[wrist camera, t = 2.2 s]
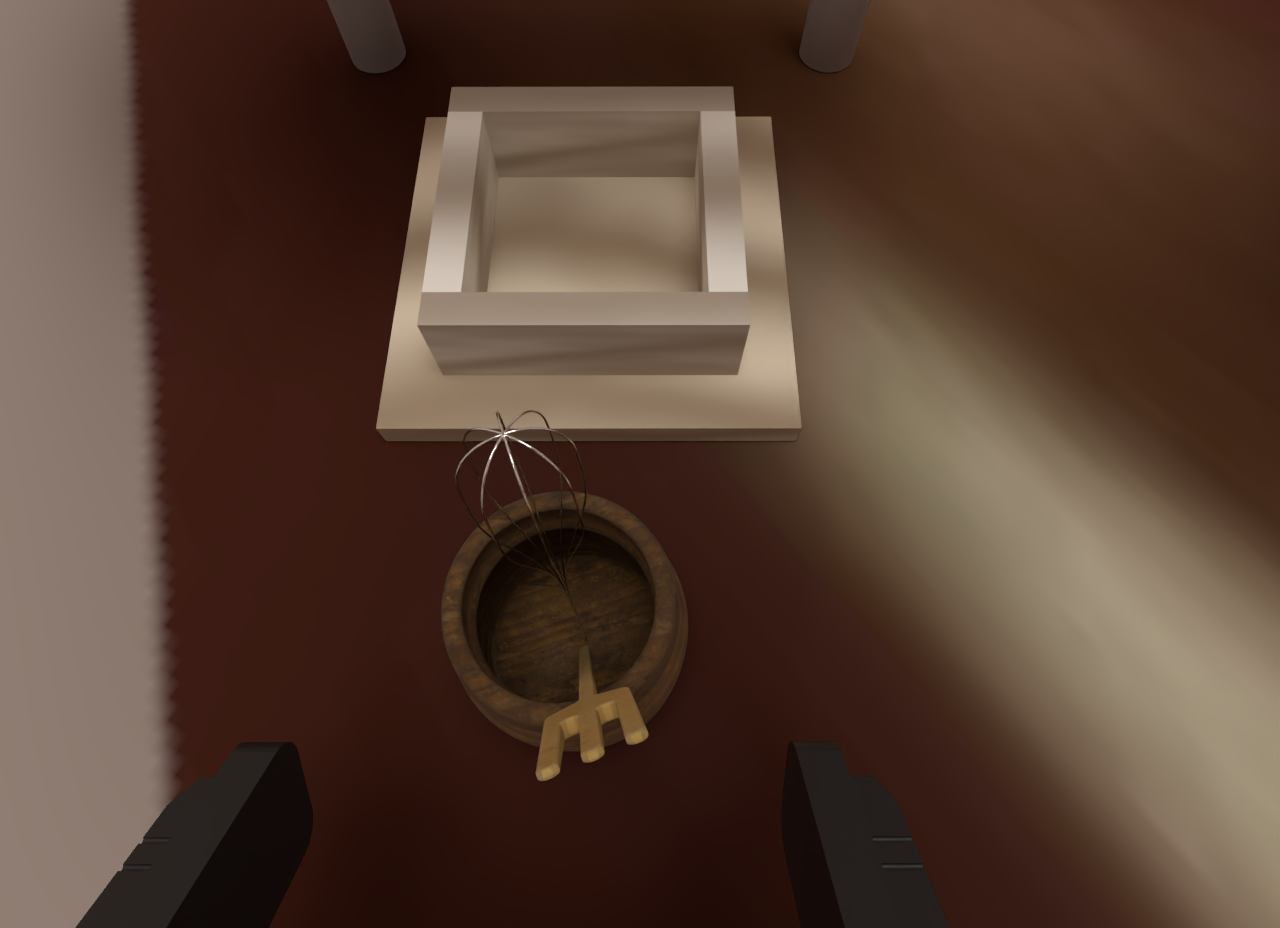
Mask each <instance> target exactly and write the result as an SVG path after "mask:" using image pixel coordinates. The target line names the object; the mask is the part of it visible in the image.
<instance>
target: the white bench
mask: <svg viewBox="0 0 1280 928" xmlns="http://www.w3.org/2000/svg"><path fill="white" fill-rule="evenodd" d="M870 1H871V0H810V5H809V9H808V13H807V18H806V22H805V27H804V31H803V36H802V40H801V45H800V49H799V55H800V58H801V60H802V61H803V62H804V63H805V64H806V65H807V66H808V67H810V68H811V69H814V70H816V71H820V72H826V73H831V72H838V71H841V70H843V69H845V68H846V67H848V66H849V65H850V64H851V62H852V60H853V56H854V53H855V50H856V47H857V43H858V40H859V37H860V33H861V30H862V27H863V24H864V20H865V17H866V14H867V10H868V7H869V4H870ZM327 2H328V4H329V7H330V9H331V12H332V14H333V16H334V19H335V21H336V24H337V26H338V28H339V31H340V33H341V35H342V38H343V40H344V43H345V45H346V47H347V50H348V52H349V55H350V57H351V59H352V62H353V64H354V65H355V66H356V67H357V68H358V69H359V70H361V71H364V72H367V73H383V72H387V71H390V70H392V69H394V68H396V67H397V66H398V65H399V64H401V62H402V61H403V60H404V58H405V55H406V49H405V46H404V43H403V40H402V37H401V34H400V31H399V28H398V25H397V22H396V19H395V16H394V13H393V10H392V7H391V4H390V1H389V0H327Z"/></svg>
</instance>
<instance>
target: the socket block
mask: <svg viewBox="0 0 1280 928" xmlns="http://www.w3.org/2000/svg"><path fill="white" fill-rule="evenodd" d="M496 410H498V411H499V413H500V415H501V418H502V420H503V422H504V425H505V427H506V428H507V426H508V425H509V424H510V423H511V422H512V420H513V419H514V418H516V417H517V416H518V415H519V414H521V413H522V412H524V411H527V410H536V411H539V412H541V413H542V414H543V415H544V416H545V418H546V420H547V422H548V424H549V427H550V429H552V430H556V431H558V432H560V433H562V434H564V435H565V436H567V437H568V438H569V439H570V440H571V441H796V439H797V437H798V435H799V433H800V431H801V429H802V426H801V416H800V406H799V396H798V386H797V376H796V366H795V356H794V346H793V335H792V325H791V315H790V305H789V295H788V285H787V275H786V265H785V254H784V244H783V234H782V224H781V214H780V204H779V194H778V184H777V173H776V163H775V153H774V143H773V133H772V123H771V117H735V105H734V91H733V87H452V88H451V95H450V102H449V109H448V116H447V117H426V122H425V128H424V134H423V141H422V147H421V153H420V159H419V165H418V172H417V178H416V184H415V190H414V196H413V202H412V209H411V215H410V221H409V227H408V233H407V240H406V246H405V252H404V258H403V264H402V271H401V277H400V283H399V289H398V295H397V302H396V308H395V314H394V320H393V326H392V333H391V339H390V345H389V351H388V357H387V364H386V370H385V376H384V382H383V388H382V395H381V401H380V407H379V413H378V419H377V425H376V429H377V430H378V432H379V433H380V434H381V435H382V437H383V438H384V439H385V440H386V441H463V437H464V435H465V433H466V432H467V431H468V430H470V429H472V428H488V429H492V430H496V431H499V432H501V430H500V427H499V423H498V420H497V416H496ZM502 427H503V426H502ZM528 427H542V428H547V425H546V423H545V421H544V419H543V418H542V417H541V415H539V414H538V413H535V412H529V413H526V414H524V415H522V416H521V417H519V418H518V419H517V420H516V421H515V422H514V423H513V424H512V426H511V427H510V428H509V429H508V431H512V430H516V429H521V428H528ZM503 430H504V429H503ZM508 431H507V432H508ZM496 435H499V434H497V433H493V432H489V431H484V430H475V431H471V432H470V433H468V434H467V436H466V440H465V441H485V440H487V439H489V438H491V437H494V436H496ZM503 435H504V434H503ZM508 435H510V436H512V437H515V438H517V439H519V440H521V441H552V439H551V436H550V434H549V431H545V430H525V431H519V432H514V433H511V434H508ZM552 435H553V438H554V441H568V440H567V439H565V438H564V437H562V436H561V435H559V434H556V433H554V432H552ZM499 438H500V437H499ZM499 438H496V439H493V440H491V441H498V440H499ZM506 440H507V441H508V438H507V437H506ZM510 440H511V441H515V440H513V439H510ZM501 441H504V439H503V438H502V440H501Z"/></svg>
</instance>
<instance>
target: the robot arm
mask: <svg viewBox="0 0 1280 928" xmlns="http://www.w3.org/2000/svg"><path fill="white" fill-rule="evenodd" d="M781 820H782V836H783V844H784V850H785V855H786V860H787V864H788V869H789V874H790V878H791V883H792V888H793V892H794V897H795V901H796V906H797V911H798V915H799V920H800V925H801V928H949V925H948V923H947V921H946V918H945V916H944V913H943V911H942V908H941V906H940V904H939V901H938V899H937V896H936V894H935V892H934V889H933V887H932V884H931V882H930V879H929V877H928V875H927V872H926V870H924V869H923V863H922V860H921V858H920V855H919V853H918V850H917V848H916V846H915V843H913V842H912V838H911V837H912V836H911V834H910V831H909V829H908V826H907V824H906V821H905V819H904V817H903V814H902V812H901V809H900V807H899V805H898V803H897V802H896V801H895V800H894V799H893V797H892V796H891V795H890V794H889V793H888V792H887V791H886V790H885V789H884V787H883V786H882V785H881V784H880V783H879V782H878V781H877V780H876V778H875V777H874V776H850V773H849V771H848V768H847V765H846V762H845V759H844V756H843V754H842V751H841V748H840V746H839V744H838V743H837V742H836V741H791V742H790V743H789V745H788V751H787V760H786V770H785V780H784V790H783V800H782V813H781ZM312 826H313V810H312V805H311V801H310V797H309V793H308V790H307V786H306V782H305V778H304V774H303V770H302V766H301V762H300V758H299V754H298V750H297V748H296V746H295V745H294V744H293V743H292V742H244V743H241V744H239V745H238V746H237V747H236V748H235V749H234V750H233V751H232V752H231V754H230V755H229V757H228V758H227V760H226V761H225V762H224V764H223V765H222V767H221V768H220V769H219V771H218V772H217V774H216V775H215V777H210V778H200V779H199V780H198V781H196V782H195V783H194V784H193V785H192V786H190V787H189V788H188V789H187V790H185V791H184V792H183V793H182V794H180V795H179V796H178V797H177V798H176V799H174V800H173V801H172V802H171V803H169V804H168V805H167V806H166V808H165V809H164V810H163V812H162V813H161V814H160V816H159V817H158V818H157V820H156V821H155V822H154V824H153V825H152V826H151V828H150V829H149V830H148V832H147V833H146V834H145V836H144V837H143V838H144V839H143V842H142V844H138V845H137V846H136V848H135V849H134V850H133V852H132V853H131V854H130V856H129V857H128V858H127V860H126V861H125V862H124V864H123V869H122V870H121V871H118V872H117V873H116V874H115V876H114V877H113V878H112V880H111V881H110V882H109V884H108V885H107V886H106V888H105V889H104V891H103V892H102V893H101V895H100V896H99V897H98V898H97V900H96V901H95V903H94V904H93V905H92V906H91V908H90V909H89V910H88V912H87V913H86V915H85V916H84V917H83V918H82V920H81V921H80V923H79V924H78V925H77V926H76V928H269V926H270V924H271V922H272V919H273V917H274V915H275V913H276V911H277V909H278V907H279V905H280V903H281V901H282V899H283V897H284V895H285V893H286V891H287V889H288V887H289V885H290V883H291V881H292V879H293V877H294V875H295V873H296V871H297V869H298V867H299V865H300V863H301V861H302V859H303V857H304V855H305V852H306V850H307V847H308V844H309V841H310V837H311V833H312Z"/></svg>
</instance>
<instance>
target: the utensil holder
mask: <svg viewBox="0 0 1280 928" xmlns="http://www.w3.org/2000/svg"><path fill="white" fill-rule="evenodd" d="M529 412H535V413H538V414H539V415H541V417H542V418H543V419H544V421H545V423H546V425H547V428H542V427H528V428H521V429H516V430H512V431H508V429H509V428H510V427H511V426H512V424H513V423H514V422H515V421H516V420H517V419H518V418H519V417H521V416H522V415H524V414H526V413H529ZM496 416H497V420H498V423H499V427H500V430H501V432H499V431H496V430H492V429H488V428H472V429H470V430H468V431H467V432H466V433H465V435H464V437H463V445H464V448H465V451H466V455H465V456H464V458H463V459H462V460H461V462H460V464H459V466H458V468H457V471H456V474H455V485H456V488H457V491H458V493H459V495H460V498H461V500H462V502H463V504H464V506H465V508H466V510H467V512H468V514H469V515H470V517H471V518H472V520H473V521H474V523H475V524H476V525H477V528H476V529H475V530H474V532H473V533H472V534H471V535H470V536H469V537H468V539H467V540H466V541H465V543H464V544H463V545H462V547H461V548H460V550H459V552H458V553H457V555H456V557H455V559H454V561H453V563H452V565H451V568H450V570H449V573H448V576H447V579H446V582H445V586H444V590H443V596H442V605H441V624H442V632H443V638H444V642H445V646H446V649H447V652H448V655H449V658H450V661H451V663H452V665H453V667H454V670H455V671H456V673H457V675H458V677H459V679H460V680H461V682H462V684H463V686H464V688H465V690H466V692H467V694H468V695H469V697H470V698H471V700H472V701H473V703H474V704H475V705H476V706H477V708H478V709H479V710H480V711H481V712H482V713H483V714H484V715H485V717H486V718H487V719H489V720H490V721H491V722H492V723H493V724H494V725H495V726H497V727H498V728H500V729H501V730H502V731H504V732H505V733H507V734H509V735H511V736H512V737H514V738H516V739H518V740H520V741H523V742H525V743H528V744H530V745H533V746H537V747H540V750H539V756H538V763H537V769H536V776H537V779H538V780H539V781H546V780H549V779H551V778H553V777H555V776H556V775H558V774H559V772H560V767H561V760H562V754H563V751H581V758H582V761H583V762H585V763H589V762H593V761H595V760H598V759H599V758H601V757H602V756H603V755H604V753H605V751H604V747H607V746H609V745H612V744H615V743H617V742H619V741H622V740H624V739H626V742H627V744H629V745H633V744H637V743H640V742H642V741H644V740H645V739H646V738H647V737H648V731H647V729H646V726H645V725H646V724H647V723H648V722H649V721H650V720H651V719H652V718H653V717H654V716H655V715H656V713H657V712H658V711H659V710H660V708H661V707H662V706H663V704H664V703H665V701H666V700H667V698H668V697H669V695H670V693H671V691H672V689H673V687H674V685H675V683H676V681H677V679H678V676H679V674H680V671H681V668H682V665H683V661H684V657H685V653H686V648H687V640H688V612H687V606H686V600H685V596H684V592H683V589H682V586H681V583H680V580H679V578H678V576H677V574H676V572H675V570H674V568H673V566H672V564H671V563H670V561H669V559H668V557H667V555H666V553H665V552H664V550H663V548H662V547H661V545H660V543H659V542H658V541H657V539H656V538H655V536H654V535H653V534H652V533H651V532H650V530H649V529H648V528H647V527H646V526H645V525H644V524H643V523H642V522H641V521H640V520H639V519H638V518H637V517H635V516H634V515H633V514H632V513H630V512H629V511H627V510H626V509H624V508H623V507H621V506H619V505H617V504H615V503H613V502H611V501H609V500H607V499H604V498H601V497H598V496H595V495H591V494H587V482H586V477H585V473H584V469H583V466H582V463H581V460H580V457H579V454H578V451H577V449H576V447H575V445H574V443H573V442H572V441H571V440H570V439H569V438H568V437H567V436H565V435H564V434H562V433H560V432H558V431H556V430H552V429H550V427H549V424H548V422H547V420H546V418H545V416H544V415H543V414H542V413H541V412H539V411H536V410H527V411H524V412H522V413H521V414H519V415H518V416H517V417H516V418H514V419H513V420H512V422H511V423H510V424H509V425H508V426H507V428H506V427H505V425H504V422H503V420H502V418H501V415H500V413H499V411H498V410H496ZM502 426H503V427H502ZM503 429H504V430H503ZM475 430H484V431H489V432H493V433H497V434H499V435H496V436H494V437H491V438H489V439H487V440H485V441H483V442H482V443H480V444H478V445H477V446H475V447H474V448H473V449H471V450H470V451H469V452H468V449H467V447H466V442H465V440H466V436H467V434H468V433H470V432H471V431H475ZM525 430H545V431H549V434H550V436H551V439H552V442H553V445H554V448H555V452H556V455H557V460H558V464H559V468H558V467H557V466H556V465H555V464H554V463H553V462H552V461H550V460H549V459H548V458H547V457H546V456H545V455H543V454H542V453H541V452H539V451H538V450H536V449H535V448H533V447H532V446H530V445H528V444H527V443H525V442H523V441H521V440H519V439H517V438H515V437H512V436H510V435H508V434H511V433H514V432H519V431H525ZM507 431H508V432H507ZM552 432H554V433H556V434H559V435H561V436H562V437H564V438H565V439H567V440H568V441H569V442H570V443H571V445H572V446H573V448H574V451H575V453H576V456H577V458H578V461H579V464H580V467H581V471H582V474H583V478H584V484H585V493H581V492H573V489H572V487H571V485H570V483H569V481H568V480H567V478H566V477H565V475H564V474H563V473H562V470H561V463H560V459H559V454H558V451H557V447H556V444H555V441H554V438H553V435H552ZM503 434H504V435H503ZM499 437H500V438H499ZM506 437H507V438H508V441H509V443H510V446H511V448H512V451H513V453H514V456H515V458H516V461H517V463H518V466H519V469H520V471H521V474H522V476H523V479H524V482H525V484H526V487H527V490H528V492H529V495H530V496H529V497H526V494H525V491H524V489H523V486H522V483H521V480H520V478H519V475H518V472H517V469H516V466H515V463H514V461H513V458H512V455H511V452H510V449H509V446H508V443H507V440H506ZM496 438H499V440H498V441H497V443H496V445H495V447H494V448H493V450H492V453H491V455H490V457H489V460H488V462H487V465H486V469H485V472H484V476H483V481H482V480H481V478H480V476H479V474H478V472H477V470H476V468H475V466H474V463H473V461H472V459H471V457H470V454H471V453H472V452H473V451H474V450H476V449H477V448H478V447H480V446H482V445H483V444H485V443H487V442H489V441H491V440H493V439H496ZM502 438H503V439H504V442H505V445H506V448H507V451H508V454H509V457H510V460H511V463H512V466H513V469H514V472H515V474H516V477H517V480H518V483H519V486H520V488H521V491H522V494H523V496H524V498H523V499H520V500H517V501H515V502H513V503H511V504H509V505H507V506H505V507H503V508H501V507H500V505H499V504H498V503H497V502H496V501H495V499H494V498H493V497H492V495H491V494H490V493H489V491H488V490H487V488H486V487H485V480H486V475H487V471H488V468H489V465H490V462H491V459H492V457H493V455H494V452H495V450H496V449H497V447H498V445H499V443H500V441H501V440H502ZM510 439H513V440H515V441H517V442H519V443H521V444H523V445H525V446H527V447H528V448H530V449H532V450H533V451H535V452H536V453H538V454H539V455H540V456H542V457H543V458H544V459H545V460H547V461H548V462H549V463H550V464H551V465H552V466H553V467H554V468H555V469H556V470H557V471H558V472H559V473H560V491H555V492H546V493H540V494H536V495H532V494H531V492H530V489H529V486H528V484H527V481H526V478H525V476H524V473H523V470H522V468H521V465H520V463H519V460H518V458H517V455H516V452H515V450H514V447H513V445H512V442H511V440H510ZM467 457H468V458H469V460H470V462H471V465H472V467H473V469H474V471H475V473H476V475H477V477H478V479H479V481H480V483H481V484H482V488H481V508H482V513H483V517H484V519H485V521H484V522H483V523H482V524H480V525H479V524H478V523H477V522H476V520H475V519H474V517H473V516H472V514H471V512H470V510H469V508H468V506H467V504H466V502H465V500H464V498H463V496H462V494H461V492H460V489H459V486H458V481H457V480H458V473H459V470H460V467H461V465H462V464H463V462H464V461H465V459H466V458H467ZM562 477H563V478H564V480H565V481H566V483H567V484H568V487H569V489H570V491H562ZM484 489H485V491H486V492H487V494H488V495H489V496H490V498H491V499H492V500H493V502H494V503H495V504H496V505H497V506H498V508H499V509H500V510H498V511H497V512H495V513H494V514H492V515H491V516H490V517H489V518H487V517H486V514H485V510H484Z"/></svg>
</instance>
